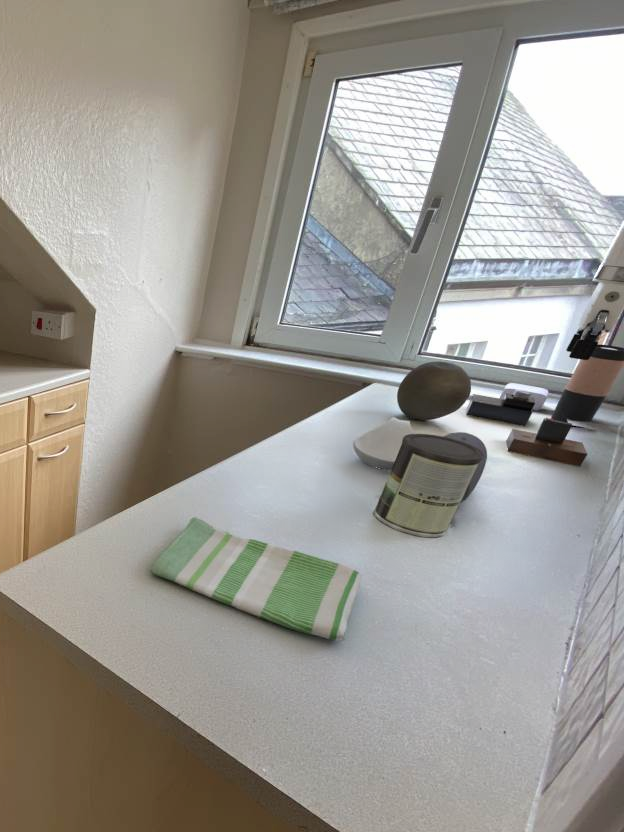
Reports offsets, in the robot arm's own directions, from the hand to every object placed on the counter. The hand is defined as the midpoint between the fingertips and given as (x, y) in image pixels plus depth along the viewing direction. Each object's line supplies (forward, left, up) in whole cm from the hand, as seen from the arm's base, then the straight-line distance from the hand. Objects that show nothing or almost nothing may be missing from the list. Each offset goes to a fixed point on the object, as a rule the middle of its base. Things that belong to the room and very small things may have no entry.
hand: (576, 355), depth 125 cm
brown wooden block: (-1, +13, -20) cm, 24 cm away
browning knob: (-1, +13, -17) cm, 22 cm away
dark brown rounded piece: (+22, +6, -20) cm, 31 cm away
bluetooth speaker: (+16, +57, -20) cm, 63 cm away
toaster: (+7, -13, -20) cm, 25 cm away
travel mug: (-8, -21, -20) cm, 30 cm away
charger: (+1, -37, -20) cm, 42 cm away
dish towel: (+34, +110, -20) cm, 117 cm away
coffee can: (+19, +74, -20) cm, 79 cm away
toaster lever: (+4, -13, -14) cm, 20 cm away
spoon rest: (+26, +43, -20) cm, 55 cm away
